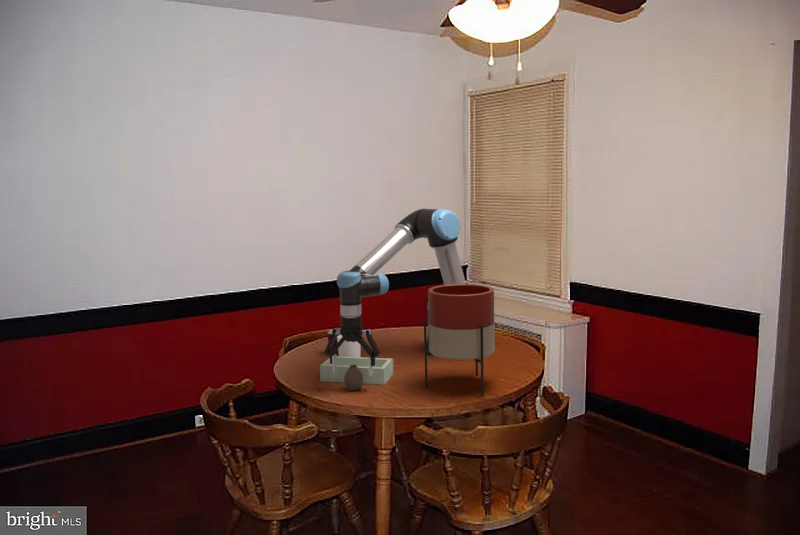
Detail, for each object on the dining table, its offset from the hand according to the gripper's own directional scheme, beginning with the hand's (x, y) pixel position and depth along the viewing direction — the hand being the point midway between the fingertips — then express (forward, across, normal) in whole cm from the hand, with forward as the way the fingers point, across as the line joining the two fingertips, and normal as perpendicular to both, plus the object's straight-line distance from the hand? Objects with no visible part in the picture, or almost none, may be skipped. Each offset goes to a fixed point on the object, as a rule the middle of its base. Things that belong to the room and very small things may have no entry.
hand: (352, 373), depth 227 cm
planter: (+6, -37, -10) cm, 39 cm away
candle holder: (+6, +11, -28) cm, 31 cm away
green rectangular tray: (+6, +3, -13) cm, 15 cm away
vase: (+6, 0, 0) cm, 6 cm away
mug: (+6, +20, -42) cm, 47 cm away
